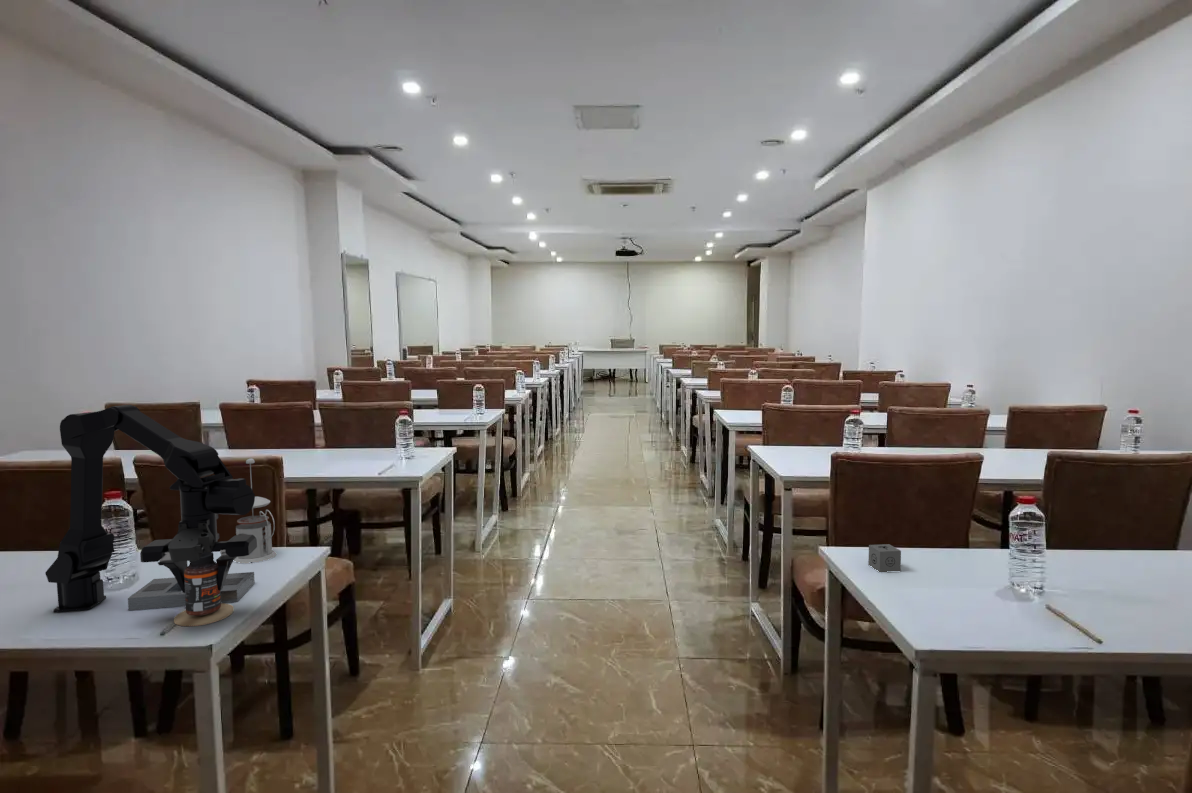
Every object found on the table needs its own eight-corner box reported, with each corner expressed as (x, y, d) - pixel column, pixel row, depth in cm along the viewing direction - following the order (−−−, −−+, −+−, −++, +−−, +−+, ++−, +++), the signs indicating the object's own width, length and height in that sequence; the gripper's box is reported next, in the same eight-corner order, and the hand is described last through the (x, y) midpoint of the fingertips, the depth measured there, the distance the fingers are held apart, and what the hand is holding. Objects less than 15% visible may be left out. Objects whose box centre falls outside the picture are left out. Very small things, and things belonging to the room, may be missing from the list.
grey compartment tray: (128, 610, 129) (127, 598, 128) (154, 590, 139) (153, 578, 139) (237, 601, 132) (236, 589, 132) (254, 582, 143) (254, 571, 143)
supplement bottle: (204, 618, 122) (201, 560, 121) (178, 616, 124) (175, 558, 123) (228, 606, 128) (225, 550, 127) (203, 603, 129) (200, 548, 128)
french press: (259, 548, 168) (255, 454, 166) (290, 554, 163) (285, 457, 161) (223, 560, 159) (218, 460, 157) (254, 566, 154) (249, 463, 152)
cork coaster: (164, 628, 120) (164, 626, 120) (187, 607, 130) (187, 605, 130) (223, 623, 122) (222, 621, 122) (241, 603, 132) (241, 601, 132)
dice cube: (888, 564, 152) (889, 544, 152) (900, 572, 147) (901, 550, 147) (868, 565, 151) (868, 545, 151) (879, 573, 146) (880, 551, 146)
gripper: (122, 526, 115) (127, 611, 116) (236, 520, 118) (240, 603, 119) (152, 511, 125) (156, 588, 127) (256, 506, 129) (259, 581, 130)
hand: (202, 591), depth 125 cm, fingers closed on supplement bottle, 6 cm apart
